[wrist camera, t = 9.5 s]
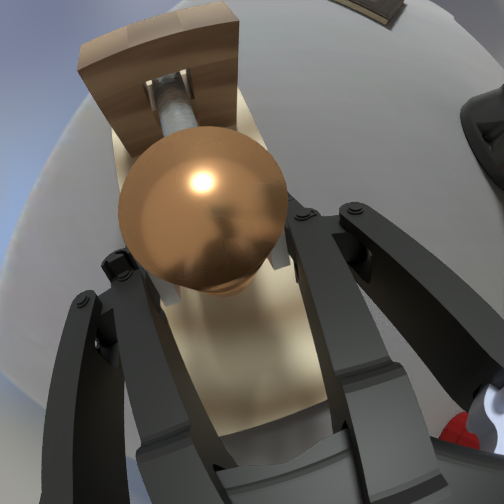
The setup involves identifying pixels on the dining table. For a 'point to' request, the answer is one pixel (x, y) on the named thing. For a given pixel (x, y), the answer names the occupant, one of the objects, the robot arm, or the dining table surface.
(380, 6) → the hardcover book
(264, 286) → the copper canister stand
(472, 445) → the plastic cup
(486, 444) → the robot arm
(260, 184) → the copper cylinder with rod
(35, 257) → the dining table surface
